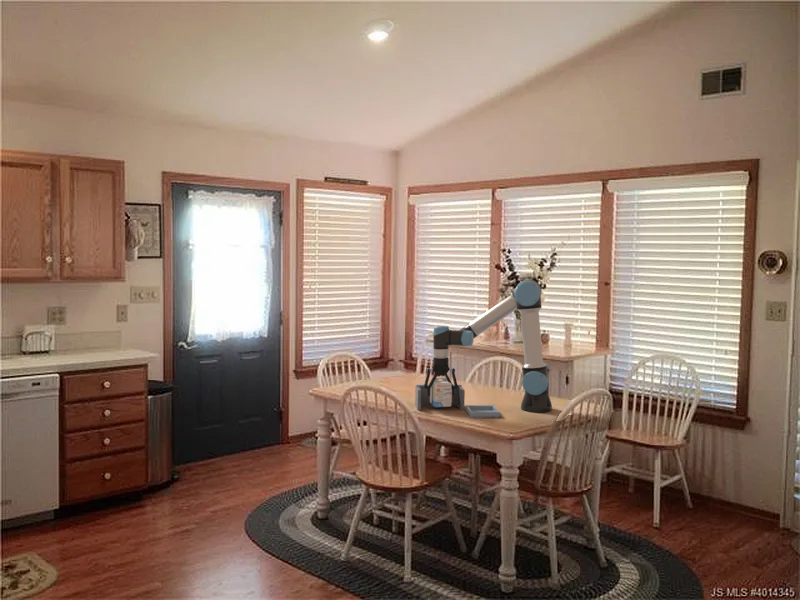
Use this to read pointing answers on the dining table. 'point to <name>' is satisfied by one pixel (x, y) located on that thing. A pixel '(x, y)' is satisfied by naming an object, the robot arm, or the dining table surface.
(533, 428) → the dining table surface
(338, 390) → the dining table surface
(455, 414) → the dining table surface
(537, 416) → the dining table surface
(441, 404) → the ink box
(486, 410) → the tray
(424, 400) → the bay
